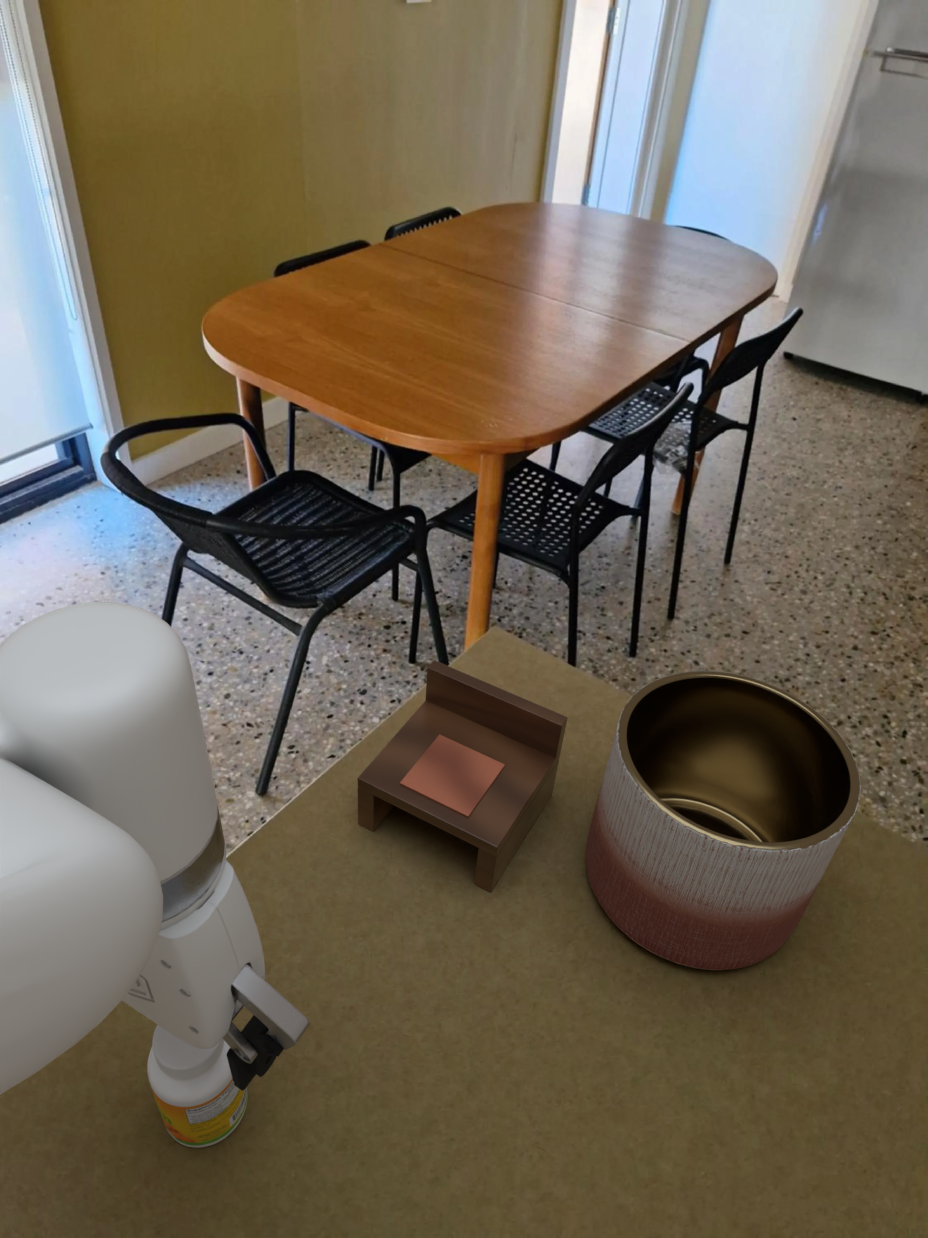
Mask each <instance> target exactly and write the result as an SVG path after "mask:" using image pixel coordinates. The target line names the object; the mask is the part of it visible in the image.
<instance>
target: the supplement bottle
mask: <svg viewBox="0 0 928 1238" xmlns="http://www.w3.org/2000/svg"><path fill="white" fill-rule="evenodd" d="M151 1039H152V1041H151V1042H152V1043H151V1044H152V1046H151V1048H150V1051H149V1054H148V1057H147V1065H146V1068H147V1069H146V1070H147V1078H148V1082H149V1086H150V1088H151V1091H152V1094H153V1097H154V1100H155V1103H156V1105H157V1108H158V1112H159V1114H160V1116H161V1120H162V1122H163V1125H164V1127H165V1129H166V1131H167V1133H168V1134H169V1135H170V1136H171V1137H172V1139H173V1140H175V1141H176V1142H177V1143H178V1144H180V1145H183V1146H185V1147H189V1148H197V1149H198V1148H206V1147H210V1146H214V1145H216V1144H218V1143H220V1142H221V1141H223V1140H225V1139H226V1138H227V1137H228V1136H229V1135H231V1134H232V1133H233V1132H234V1131H235V1129H236V1128H237V1127H238V1126H239V1124H240V1123H241V1121H242V1119H243V1117H244V1115H245V1112H246V1109H247V1106H248V1105H247V1104H248V1098H249V1097H248V1095H249V1093H248V1086H247V1087H246V1089H245V1090H243V1091H242V1090H240V1089H239V1088H237V1087H236V1086H235V1085H234V1082H233V1078H232V1075H231V1071H230V1067H229V1063H228V1059H227V1052H228V1050H229V1049H230V1047H229V1045H228V1044H227V1043H226V1042H225V1041H224V1040H223V1038H222V1039H221V1040H220V1042H219V1043H218V1044H217V1045H216V1046H215V1047H214V1048H209V1049H200V1048H196V1047H193V1046H191V1045H189V1044H187V1043H186V1042H184V1041H182V1040H181V1039H179V1038H177V1037H176V1036H174V1035H173V1034H171V1033H170V1032H168V1031H167V1030H165V1029H164V1028H162V1027H160V1026H159V1025H157V1024H156V1026H155V1029H154V1032H153V1035H152V1038H151Z"/></svg>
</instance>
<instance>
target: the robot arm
mask: <svg viewBox="0 0 928 1238" xmlns="http://www.w3.org/2000/svg"><path fill="white" fill-rule="evenodd" d="M201 714H202V713H201V710H200V705H199V700H198V693H197V690H196V684H195V678H194V674H193V670H192V664H191V662H190V657H189V654H188V650H187V648H186V646H185V644H184V642H183V641H182V638H181V636H179V634H178V633H177V632H176V630H174V629H173V628H172V626H171V625H170V624H169V623H168V622H167V621H165V620H164V619H163V618H161V617H160V616H158V615H156V614H155V613H153V612H151V611H149V610H147V609H144V608H142V607H138V606H136V605H132V604H128V603H121V602H112V601H111V602H110V601H93V602H92V601H91V602H84V603H76V604H72V605H71V604H70V605H67V606H63V607H60V608H56V609H53V610H50V611H48V612H46V613H44V614H41V615H39V616H37V617H35V618H33V619H32V620H30V621H28V622H26V623H24V624H23V625H21V626H20V627H18V628H17V629H16V630H14V631H12V633H10V634H9V635H8V636H7V637H6V638H5V639H4V640H3V641H2V642H1V643H0V1095H2V1094H4V1093H5V1092H7V1091H8V1090H10V1089H13V1088H14V1087H15V1086H17V1085H18V1084H20V1083H21V1082H23V1081H25V1080H27V1079H28V1078H30V1077H31V1076H33V1075H35V1074H36V1073H38V1072H39V1071H41V1070H42V1069H44V1068H45V1067H46V1066H47V1065H49V1064H50V1063H52V1062H53V1061H54V1060H56V1059H57V1058H58V1057H60V1056H61V1055H63V1054H64V1053H66V1052H67V1051H68V1050H69V1049H71V1048H73V1047H74V1046H76V1044H78V1043H79V1042H80V1041H81V1040H82V1039H83V1038H85V1037H86V1036H87V1035H89V1033H91V1032H92V1031H93V1030H94V1029H95V1028H96V1027H97V1026H99V1025H100V1024H101V1023H102V1022H103V1021H104V1020H105V1019H106V1018H107V1017H108V1016H109V1015H110V1013H111V1012H112V1011H113V1010H114V1009H115V1008H116V1007H117V1006H118V1005H119V1004H120V1003H121V1002H123V1003H125V1004H126V1005H128V1006H129V1007H130V1008H132V1009H133V1010H135V1011H136V1012H138V1013H139V1014H140V1015H142V1016H144V1017H146V1018H147V1019H148V1020H150V1021H151V1022H153V1023H154V1024H156V1026H157V1025H159V1026H160V1027H162V1028H164V1029H165V1030H167V1031H168V1032H170V1033H171V1034H173V1035H174V1036H176V1037H177V1038H179V1039H181V1040H182V1041H184V1042H186V1043H187V1044H189V1045H191V1046H193V1047H196V1048H200V1049H209V1048H214V1047H215V1046H216V1045H217V1044H218V1043H219V1042H220V1040H221V1039H222V1038H223V1040H224V1041H225V1042H226V1043H227V1044H228V1045H229V1047H230V1049H229V1050H228V1052H227V1059H228V1063H229V1067H230V1071H231V1075H232V1078H233V1082H234V1085H235V1086H236V1087H237V1088H239V1089H240V1090H242V1091H243V1090H245V1089H246V1087H247V1088H248V1086H249V1085H250V1083H251V1082H252V1080H253V1079H254V1078H255V1077H256V1075H257V1076H258V1077H259V1078H261V1077H264V1076H265V1074H267V1072H268V1071H269V1070H270V1068H271V1067H272V1065H274V1062H275V1061H276V1059H277V1057H279V1056H281V1054H282V1052H284V1050H285V1051H287V1050H289V1049H291V1048H293V1047H295V1046H296V1045H297V1044H298V1042H299V1040H300V1039H301V1037H302V1036H303V1035H304V1033H305V1032H306V1031H307V1029H309V1026H310V1025H311V1022H310V1020H309V1018H308V1017H307V1016H306V1015H304V1013H302V1012H301V1011H300V1010H299V1009H298V1008H296V1006H294V1005H293V1004H292V1002H290V1001H289V1000H288V999H287V998H286V997H284V996H283V995H282V994H281V993H280V992H279V991H278V990H276V988H274V987H273V986H272V985H271V984H270V983H268V982H267V981H266V964H265V963H266V962H265V955H264V950H263V946H262V942H261V938H260V934H259V929H258V926H257V923H256V921H255V917H254V914H253V911H252V908H251V906H250V903H249V900H248V898H247V896H246V893H245V891H244V889H243V886H242V884H241V882H240V880H239V878H238V875H237V874H236V872H235V869H234V866H233V865H232V864H231V863H230V862H229V861H228V860H227V846H226V845H227V844H226V839H225V835H224V830H223V825H222V820H221V814H220V809H219V804H218V803H219V802H218V798H217V794H216V788H215V782H214V776H213V772H212V767H211V766H212V765H211V761H210V756H209V750H208V745H207V740H206V736H205V735H206V734H205V730H204V726H203V721H202V716H201ZM243 1008H245V1009H246V1010H247V1011H248V1012H250V1013H251V1014H252V1016H251V1018H250V1019H249V1021H248V1022H247V1023H246V1024H245V1026H244V1027H243V1028H242V1029H241V1030H240V1029H239V1028H238V1027H237V1026H236V1024H235V1023H234V1022H233V1021H234V1019H235V1018H236V1017H237V1016H238V1014H239V1013H240V1012H241V1011H242V1009H243Z"/></svg>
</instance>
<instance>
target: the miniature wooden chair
mask: <svg viewBox="0 0 928 1238" xmlns="http://www.w3.org/2000/svg"><path fill="white" fill-rule="evenodd" d="M568 719H569V718H568V716H566V715H563V714H561V713H559V712H557V711H554V710H551V709H549V708H547V707H545V706H542V705H541V704H538V703H535V702H533V701H531V700H529V699H525V698H523V697H522V696H519V695H517V694H515V693H512V692H510V691H509V690H505V689H503V688H500V687H498V686H496V685H493V684H491V683H488V682H486V681H485V680H482V679H479V678H477V677H475V676H473V675H470V674H468V673H465V672H463V671H462V670H459V669H456V668H453V667H451V666H449V665H448V664H445V663H442V662H440V661H439V660H438V661H437V660H435V659H433V661H432V662H431V663H430V664H429V665H428V666H427V667H426V685H425V700H424V701H423V703H422V704H421V705H420V706H419V707H418V708H417V709H416V710H415V712H414V713H413V714H412V715H411V716H410V717H409V718H408V720H407V721H406V722H405V723H404V724H403V725H402V726H401V728H399V730H398V731H397V732H396V733H395V734H394V735H393V737H392V738H391V739H390V741H389V742H388V743H386V745H385V746H384V747H383V748H382V749H381V751H380V752H379V753H378V754H377V755H376V756H375V758H374V759H373V760H372V761H371V762H370V763H369V764H368V765H367V767H366V768H365V769H364V770H363V771H362V772H361V774H360V775H358V777H357V824H358V825H360V826H362V827H363V828H365V829H367V830H369V831H371V832H374V831H376V829H377V828H378V826H379V825H380V824H381V823H382V821H383V820H384V819H385V818H386V817H387V815H388V814H389V813H390V811H392V809H393V808H394V807H397V808H398V809H400V810H402V811H404V812H406V813H408V814H410V815H412V816H414V817H416V818H417V819H420V820H422V821H424V822H426V823H428V824H430V825H432V826H434V827H436V828H438V829H440V830H441V831H444V832H446V833H447V834H449V835H452V836H454V837H456V838H458V839H460V840H462V841H463V842H466V843H468V844H470V845H472V846H474V847H476V848H477V849H478V851H477V858H476V866H475V874H474V881H473V884H474V885H475V886H477V887H479V888H481V889H483V890H485V891H487V892H489V893H491V892H492V891H493V890H494V888H495V887H496V885H497V883H498V882H499V881H500V879H501V877H502V876H503V874H504V872H505V871H506V869H507V867H509V864H510V863H511V861H512V860H513V858H514V857H515V855H516V853H517V852H518V850H519V848H520V847H521V845H522V844H523V842H524V840H525V839H526V837H527V836H528V834H529V832H530V831H531V829H532V828H533V826H534V824H535V822H537V820H538V818H539V816H540V815H541V813H542V812H543V810H544V809H545V807H546V805H547V803H548V802H549V801H550V799H551V797H552V796H553V792H554V787H555V783H556V782H555V781H556V777H557V772H558V768H559V767H558V766H559V762H560V757H561V752H562V747H563V742H564V738H565V733H566V728H567V723H568Z"/></svg>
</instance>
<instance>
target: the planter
mask: <svg viewBox="0 0 928 1238" xmlns="http://www.w3.org/2000/svg"><path fill="white" fill-rule="evenodd" d="M861 785H862V783H861V776H860V772H859V767H858V764H857V762H856V759H855V757H854V755H853V753H852V751H851V749H850V747H849V746H848V744H847V743H846V741H845V740H844V738H843V737H842V735H841V734H840V733H839V732H838V730H837V729H836V728H835V727H834V726H833V725H832V724H831V723H830V722H829V721H828V720H827V719H826V718H825V717H824V716H823V715H822V714H820V713H819V712H818V711H816V709H814V708H813V707H812V706H811V705H809V704H808V703H806V702H805V701H803V700H801V699H800V698H798V697H796V696H795V695H793V694H792V693H790V692H788V691H786V690H784V689H781V688H780V687H778V686H775V685H773V684H770V683H768V682H766V681H763V680H760V679H758V678H757V679H756V678H754V677H751V676H746V675H743V674H737V673H733V672H726V671H719V670H718V671H717V670H688V671H681V672H676V673H672V674H668V675H665V676H661V677H659V678H657V679H655V680H652V681H651V682H649V683H647V684H646V685H644V686H642V687H640V689H638V690H637V691H636V692H634V694H633V695H632V696H631V697H630V698H629V699H628V700H627V702H626V703H625V705H624V707H623V708H622V710H621V713H620V715H619V718H618V721H617V725H616V729H615V732H614V736H613V740H612V744H611V748H610V751H609V755H608V758H607V763H606V766H605V770H604V773H603V778H602V781H601V785H600V789H599V791H598V795H597V799H596V801H595V806H594V809H593V814H592V817H591V821H590V825H589V829H588V834H587V838H586V847H585V867H586V868H585V869H586V873H587V877H588V881H589V883H590V884H589V885H590V887H591V890H592V892H593V894H594V896H595V898H596V900H597V902H598V903H599V905H600V907H601V908H602V910H603V912H605V914H606V916H608V918H609V919H610V920H611V921H612V922H613V924H614V925H615V926H616V927H617V928H618V929H619V930H620V931H621V932H622V933H624V934H625V935H626V936H627V937H628V938H629V939H631V940H632V941H633V942H634V943H636V944H637V945H639V946H640V947H642V948H643V949H645V950H647V951H648V952H650V953H652V954H654V955H655V956H658V957H660V958H662V959H665V960H667V961H668V962H671V963H675V964H677V965H681V966H684V967H688V968H694V969H700V970H708V971H728V970H736V969H742V968H746V967H749V966H752V965H755V964H758V963H760V962H762V961H764V960H766V959H768V958H769V957H771V956H772V955H773V954H775V953H776V952H777V951H778V950H779V949H781V948H782V946H784V944H786V942H787V941H788V939H789V938H790V937H791V936H792V935H793V933H794V931H795V929H796V928H797V926H798V924H799V923H800V921H801V919H802V917H803V916H804V914H805V911H806V910H807V908H808V905H809V904H810V902H811V900H812V898H813V896H814V894H815V892H816V890H817V888H818V886H819V884H820V882H821V881H822V878H823V877H824V874H825V872H826V871H827V869H828V866H829V864H830V862H831V860H832V858H833V857H834V855H835V853H836V851H837V849H838V847H839V845H840V843H841V841H842V839H843V838H844V836H845V834H846V832H847V830H848V828H849V826H850V824H851V822H852V820H853V819H854V817H855V815H856V813H857V810H858V807H859V804H860V799H861V792H862V789H861V788H862V786H861Z"/></svg>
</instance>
